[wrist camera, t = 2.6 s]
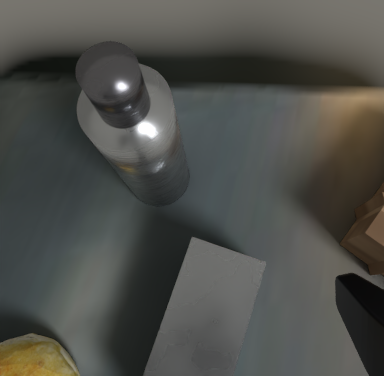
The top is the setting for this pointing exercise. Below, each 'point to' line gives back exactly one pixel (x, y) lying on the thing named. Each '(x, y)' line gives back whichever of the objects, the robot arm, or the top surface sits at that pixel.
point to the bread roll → (35, 357)
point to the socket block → (368, 233)
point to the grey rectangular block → (206, 313)
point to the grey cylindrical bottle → (132, 122)
